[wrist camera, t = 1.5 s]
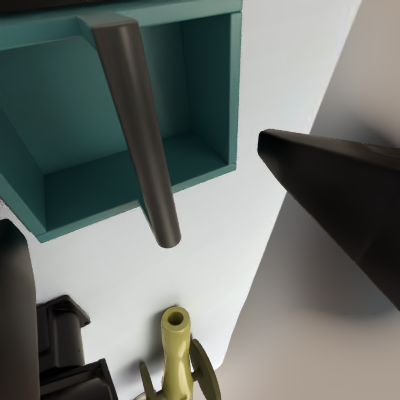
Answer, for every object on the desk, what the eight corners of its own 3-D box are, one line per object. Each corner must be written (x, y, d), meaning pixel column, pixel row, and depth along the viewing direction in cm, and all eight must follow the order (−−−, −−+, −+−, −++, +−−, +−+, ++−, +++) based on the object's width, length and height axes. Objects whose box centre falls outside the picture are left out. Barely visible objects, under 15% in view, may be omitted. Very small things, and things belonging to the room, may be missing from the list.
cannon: (131, 320, 34) (158, 417, 26) (205, 290, 39) (247, 364, 31) (138, 380, 49) (157, 452, 42) (191, 352, 54) (216, 412, 47)
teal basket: (195, 132, 20) (272, 203, 13) (39, 180, 17) (41, 306, 10) (183, -11, 14) (311, -6, 7) (-68, 21, 10) (-232, 79, 4)
